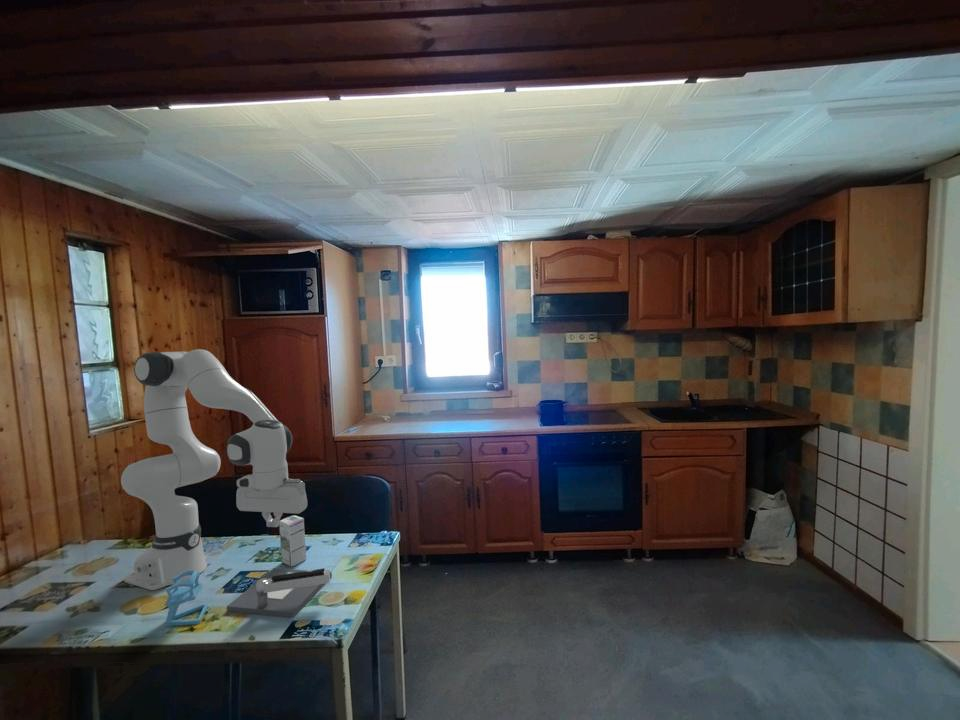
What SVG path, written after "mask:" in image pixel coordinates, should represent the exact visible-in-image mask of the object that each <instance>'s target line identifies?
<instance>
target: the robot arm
mask: <svg viewBox="0 0 960 720" xmlns="http://www.w3.org/2000/svg"><path fill="white" fill-rule="evenodd" d="M133 373H134V376H135V378H136V379H137V381H138V382H139V383H140V384H141V385H144V386H145V388H144V393H143V395H144V396H143V410H144V411H143V412H144V418H145V426H146V435H147V437H148V439H150V440H151V441H152V442H155V443H157V444H161V445H166V446H169V447H170V448H171V450H172V453H169V454H164V455H158V456H153V457H148V458H145V459H141V460H139V461H136V462H133V463H130V464H128V465H127V466H126V467H125V469H124V470H123V472H122V474H121V477H120V484H121V488H122V489H123V490H124V491H125V493H126V494H128V495H129V496H132V497H135V498H138V499H140V500H142V501H143V502H145V503H146V504H147V505H148V506H149V508H150V509H151V511H152V515H153V519H154V525H155V526H154V527H155V534H153V535H151V536H149V537H148V538H149V539H148V541H152V543H151V546H150V547H148V548H147V549H146V550H145V551H144V552H142V554H140V555H139V556H138V557H137V558H136V559H135V561H134V566H133V567H134V569H133V571H132V572H130V573H129V574H127V576H126V577H125V578H124V583H125V584H129V585H132V586H137V587H140V588H142V589H147V590H150V591H156V590H159V589H162V588H164V587H165V588H166V587H168V586H172V585H173V584H174V581H173V579H172V578H174V577H177V576H179V575H180V574H182V573H184V572H186V571H199V572H200V574H201V573H203V572H204V571H205V570H206V569H207V567H208V562H207V555H206V554H205V550H204V545H203V540H202V537H201V536H202V528H201V524H200V522H199V510H198V509H199V508H198V507H199V506H198V503H197V501H196V500H195V499H194V498H192V497H188V496H185V495H184V496H183V495H177V494H176V492H175V490H176V489H177V488H181V487H185V486H188V485H189V486H190V485H194V484H197V483H201V482H204V481H205V480H208V479H211V478H213V477H215V476H216V475H217V474H218V472H219V471H220V468H221V462H222V460H221V456H220V455H219V453H218V452H217V451H216V450H215V449H213V448H211V447H208V446H206V445H205V444H203V443H202V442H200V440H199V439H198V438H197V437H196V435H195V434H194V432H193V429H192V427H191V422H190V418H189V411H188V405H187V400H186V392H187V390H189V391H190V394H191V396H192V397H193V399H195V401H197V402H198V404H200V405H202V406H203V407H207V408H211V409H222V410H229V411H235V412H239V413H241V414H244V415H245V416H246V417H247V418H248V419H249V420H250V421H251V423H253V424H252V425H251V427H250V428H247V429H245V430H243V431H241V432H237V433H235V434H233V435H231V436H230V437H229V438H228V440H227V443H226V446H225V455H226V458H227V460H228V461H229V462H230V463H231V464H233V465H235V466H237V467H238V466H242V467H243V466H247V465H251V466H252V473H249V474H247V475H244V476H241V478H238V479H237V480H236V486H237V490H236V495H235V497H236V500H235V501H236V502H235V504H236V508H237V509H238V510H239V511H240V512H258V513H261V516H262V517H263V519H264V520H265V523H266V527H267V528H278V527H280V526H279V525H280V521H281V519H282V518H281V517H282V516H283V514H284V513H285V514H297V515H299V514H301V513H302V512H304V511H305V510H306V509H307V507H308V498H307V493H306V484H305V482H303V481H302V480H301V479H299V478H289V469H288V467H289V466H288V462H287V454H288V453H289V451H290V450H291V447H292V445H293V441H294V438H293V434H292V431H290V429H289V428H288V426H286V425H285V424H283V423H282V422H281V421H279V420H278V419H277V417H275V415H274V414H273V413H272V412H271V411H270V410H269V409H268V408H267V406H266V405H265V404H264V403H263V402H262V400H261V399H260V398H259V397H257V395H256V394H254V392H252V390H250V389H249V388H247V387H244V386H242V385H241V384H240V383H238V382H237V381H236V380H235V379H234V378H233V377H232V376H230V374H229V372H228V371H227V370H226V368H225V366H224V365H223V364H222V363H221V361H219V359H218V358H217V357H216V356H215V355H214V354H213V353H211V352H210V351H208V350H205V349H199V348H198V349H192V350H190V351H162V352H161V351H160V352H159V351H151V352H150V351H149V352H145V353H142V354H141V355H139V356H138V357H137V359H136V360H135V363H134V367H133ZM271 513H273V517H274V518H273V517H272V515H271ZM190 577H191V575H187V576H184V577H182V578H180V579H178V580H177V582H178V581H181V580H185V579H189V578H190Z"/></svg>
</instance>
